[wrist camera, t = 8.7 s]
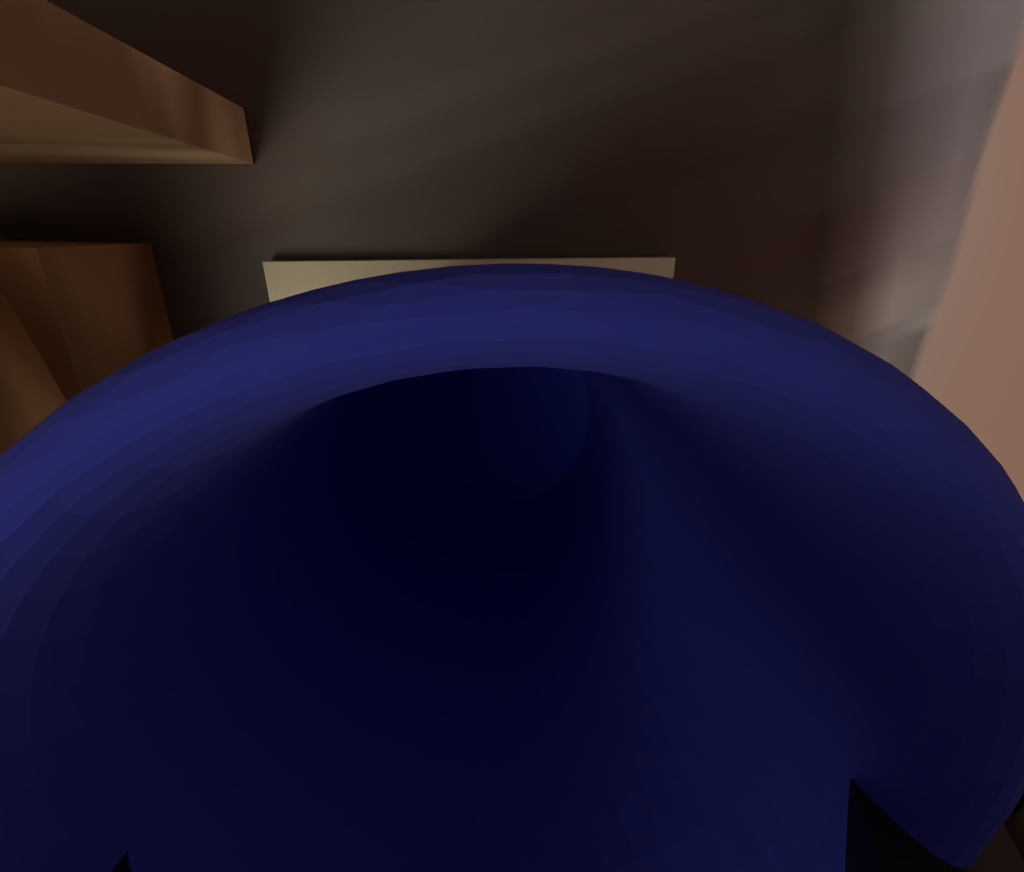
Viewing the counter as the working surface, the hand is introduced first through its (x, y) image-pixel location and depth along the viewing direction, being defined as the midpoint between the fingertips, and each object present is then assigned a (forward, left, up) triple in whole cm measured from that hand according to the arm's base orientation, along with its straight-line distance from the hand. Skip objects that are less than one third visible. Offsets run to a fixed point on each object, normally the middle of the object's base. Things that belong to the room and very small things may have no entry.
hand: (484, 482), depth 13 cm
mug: (0, 0, 0) cm, 0 cm away
